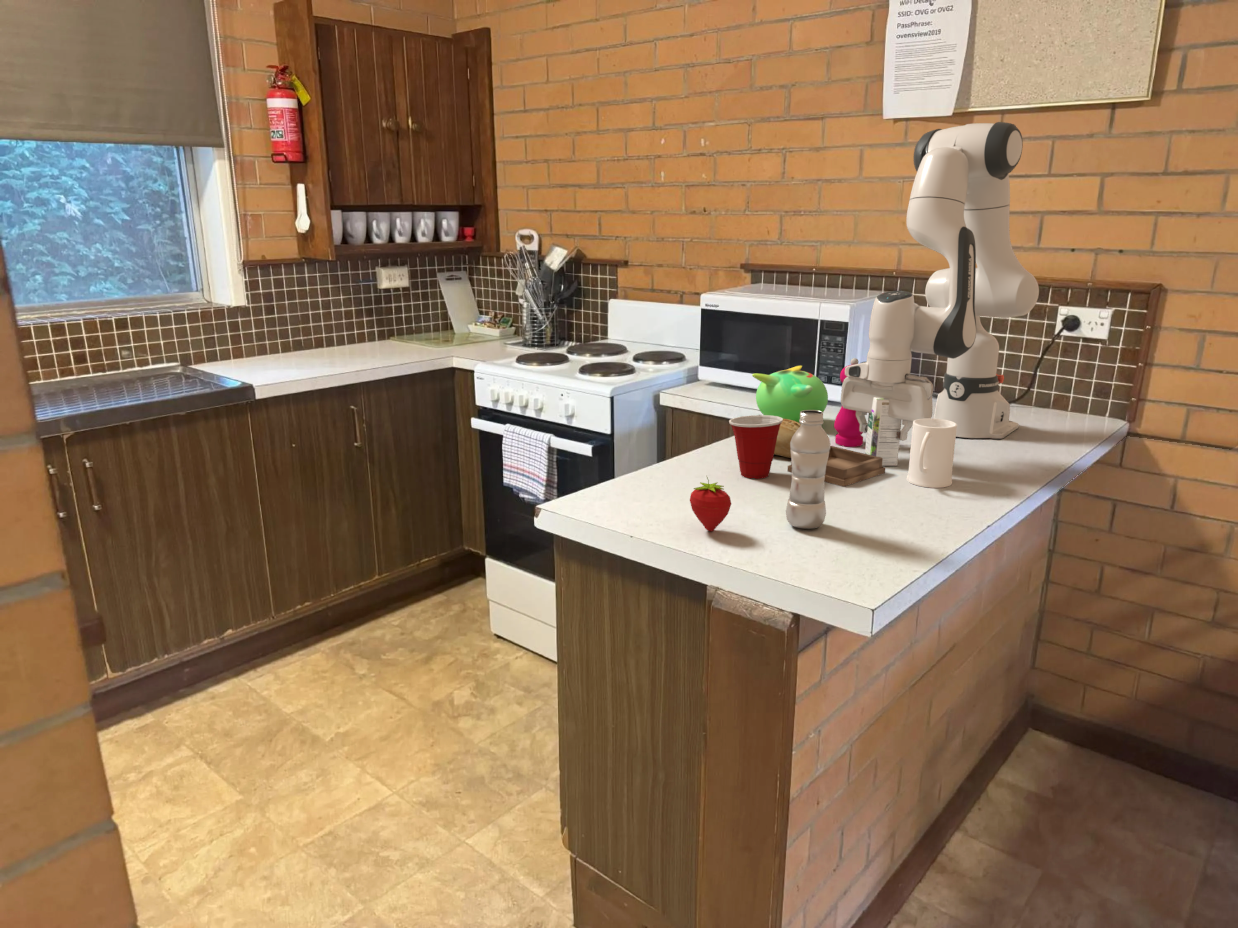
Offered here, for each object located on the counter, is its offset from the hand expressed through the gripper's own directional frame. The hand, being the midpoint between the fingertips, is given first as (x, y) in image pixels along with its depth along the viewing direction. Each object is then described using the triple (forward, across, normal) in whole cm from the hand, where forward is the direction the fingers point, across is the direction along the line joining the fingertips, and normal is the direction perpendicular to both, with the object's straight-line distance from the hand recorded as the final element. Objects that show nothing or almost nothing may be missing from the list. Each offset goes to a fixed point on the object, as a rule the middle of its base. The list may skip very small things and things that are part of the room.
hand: (882, 435), depth 177 cm
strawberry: (+6, -5, +57) cm, 57 cm away
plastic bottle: (+6, -14, +43) cm, 45 cm away
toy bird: (+6, +35, -13) cm, 38 cm away
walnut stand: (+6, +2, +13) cm, 14 cm away
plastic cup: (+6, +12, +27) cm, 30 cm away
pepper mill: (+6, +14, -8) cm, 17 cm away
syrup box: (+6, 0, 0) cm, 6 cm away
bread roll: (+6, +19, +11) cm, 23 cm away
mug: (+6, -14, +6) cm, 17 cm away
